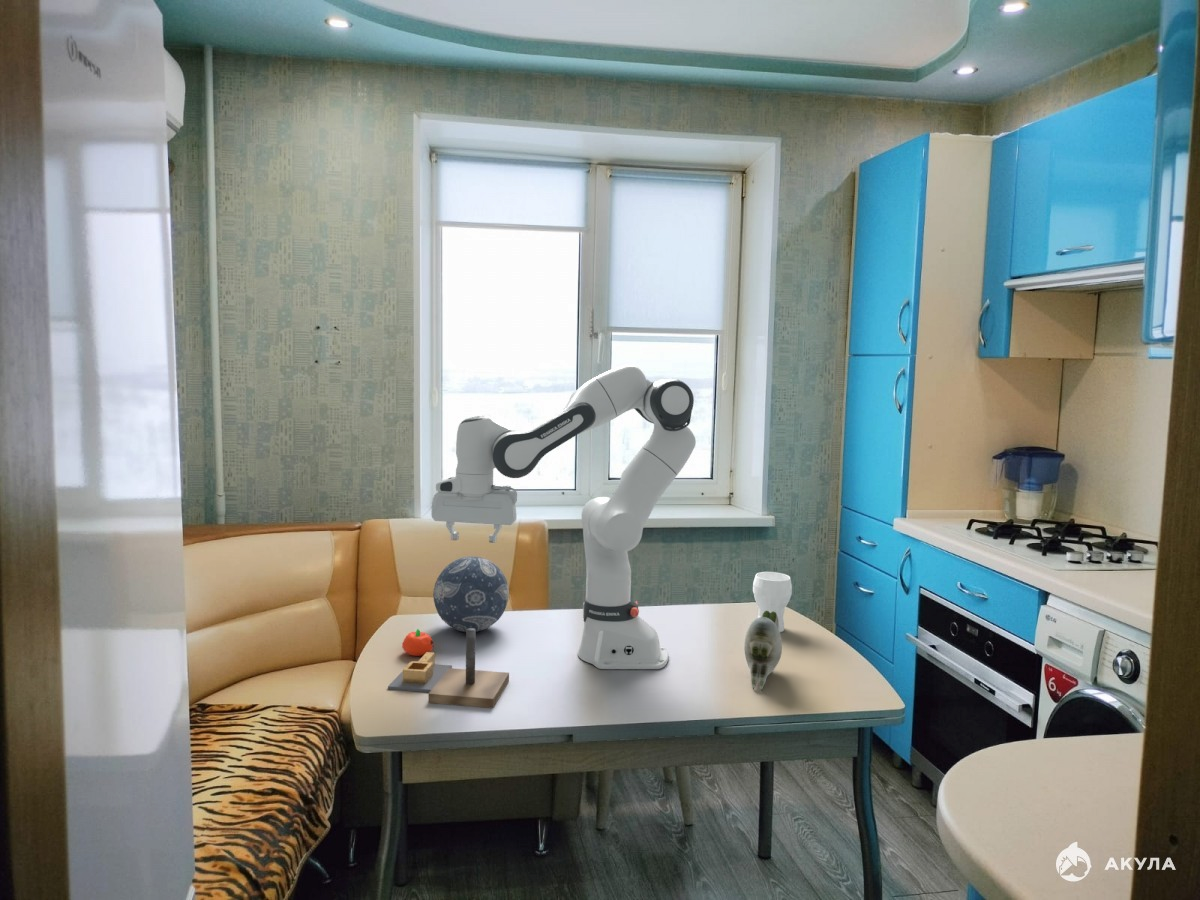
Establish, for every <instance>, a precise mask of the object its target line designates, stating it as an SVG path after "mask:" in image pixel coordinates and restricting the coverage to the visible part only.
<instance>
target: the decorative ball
mask: <svg viewBox="0 0 1200 900" xmlns="http://www.w3.org/2000/svg"><path fill="white" fill-rule="evenodd" d="M509 589H510V587H509V583H508V580H507V578H506V576H505V574H504V573H503V572H502V570H501V569H500V567H498V565H496V564H495V563H494V562H492V561H490V560H488V559H486V558H484V557H480V556H465V557H464V556H463V557H460V558H458V559H456V560H454V561H452V562H450V563H449V564H448V565H447V566H445V567H444V569H443V570H442V571H441V572H440V574H439V575H438V577H437V579H436V581H435V583H434V587H433V603H434V607H435V609H436V611H437V615H439V617H440V619H441V621H443V622H444V623H445V625H448V626H449V627H450V628H452V629H453V630H456V631H459V632H463V633H464V632H465V633H466V629H469V628H474V629H475V630H476V631H475V633H476V632H481V631H484V630H486V629H489V628H490V627H491V626H493V625H494V624H496V623H497V622H498V621H499V620H500V619H501V617H502V616H503V614H504V612H505V611H506V608H507V605H508V602H509V595H510V591H509Z"/></svg>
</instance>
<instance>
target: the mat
mask: <svg viewBox="0 0 1200 900" xmlns="http://www.w3.org/2000/svg"><path fill="white" fill-rule="evenodd" d="M449 668H453V665H449V664H439V663H437V664H436V663H435V665H434V666H433V676H432V677H431V678H430V680H429V681H428V682H427V683H426V684H425V685H423V684H410V683H403V670H402V671H401V672H400V673H399V674H398V675H397V676H396V677H395V678H394V679H393V680H392V681H391V682H390V683H389V684H388V686H387V690H396V691H409V692H419V693H420V692H423V693H429V692H430V691H431V690H432V689H433V688H434V686H435V685H436V684H437V683H438V681H439V680H440V679H441V678H442V677H443V675H444V674H445V673H446V672H447V670H448V669H449Z"/></svg>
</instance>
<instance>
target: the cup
mask: <svg viewBox="0 0 1200 900" xmlns="http://www.w3.org/2000/svg"><path fill="white" fill-rule="evenodd" d="M752 593H753V596H754V600H755V602H756V605H757V611H758V616H757V618H759V617H761V616H762V614H763V613H764V612H765V611H769V612H770V613H771V612H773V611H774V612H775V613H776V614H777V617H778V624H779V625H778V630H779V633H782V632H784V631H785V622H784V614H785V609H786V607H787V605H788V604H789V603H790V600H791V597H792V595H793V594H792V593H793V585H792V579H791V576H790V575H787V574H786V573H783V572H782V573H781V572H776V571H762V572H757V573H756V574H755V575H754V579H753V581H752Z"/></svg>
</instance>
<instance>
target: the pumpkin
mask: <svg viewBox="0 0 1200 900" xmlns="http://www.w3.org/2000/svg"><path fill="white" fill-rule="evenodd" d="M403 639H404V640H403V641H402V644H401V648H402V649H403V651H404V652H405V653H407V654H408V655H410V656H414V657H417V656H418V657H420V656H423V655H424V654H425V653H426V652H432V650H433V648H434V641H433V638H432V637H431V635H429V634H428V633H426V632H423V631H420V629H419V628H417V629H416V631H412V632H411V631H410V632H409V633H407V634H406V636H405V637H404V638H403Z"/></svg>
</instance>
